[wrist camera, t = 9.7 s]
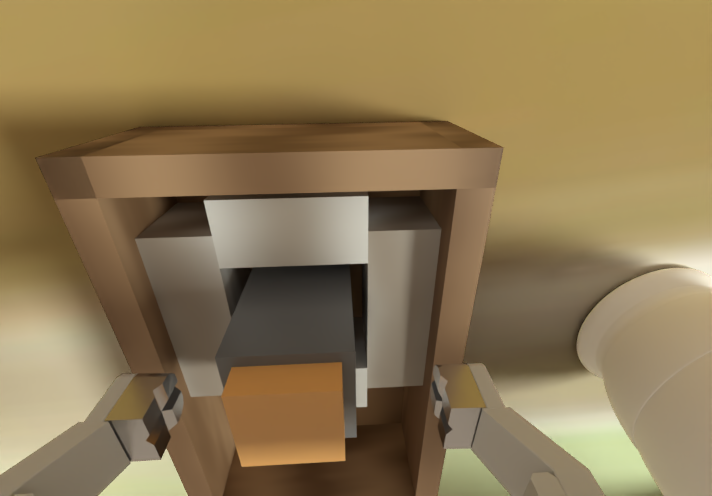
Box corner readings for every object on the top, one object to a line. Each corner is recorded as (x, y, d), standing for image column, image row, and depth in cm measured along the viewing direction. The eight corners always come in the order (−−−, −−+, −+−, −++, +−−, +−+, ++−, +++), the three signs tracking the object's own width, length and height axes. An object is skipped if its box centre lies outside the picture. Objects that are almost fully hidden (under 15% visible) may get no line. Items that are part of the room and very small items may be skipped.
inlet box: (448, 121, 15) (503, 147, 10) (414, 420, 24) (434, 509, 19) (139, 126, 14) (34, 157, 9) (229, 429, 23) (201, 524, 19)
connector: (348, 241, 16) (357, 379, 9) (349, 309, 18) (358, 467, 11) (262, 244, 16) (202, 386, 9) (273, 312, 18) (230, 475, 11)
